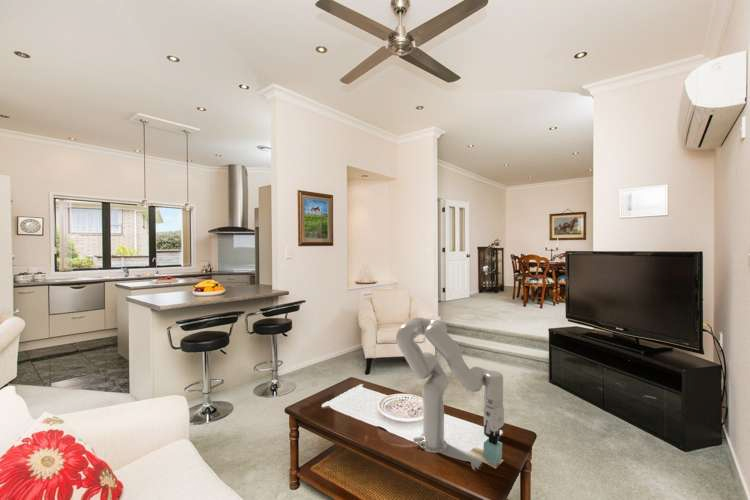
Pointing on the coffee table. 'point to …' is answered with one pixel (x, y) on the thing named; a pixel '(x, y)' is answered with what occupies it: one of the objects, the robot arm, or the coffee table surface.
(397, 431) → the coffee table surface
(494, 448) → the mint green cube
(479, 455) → the board
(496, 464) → the post
